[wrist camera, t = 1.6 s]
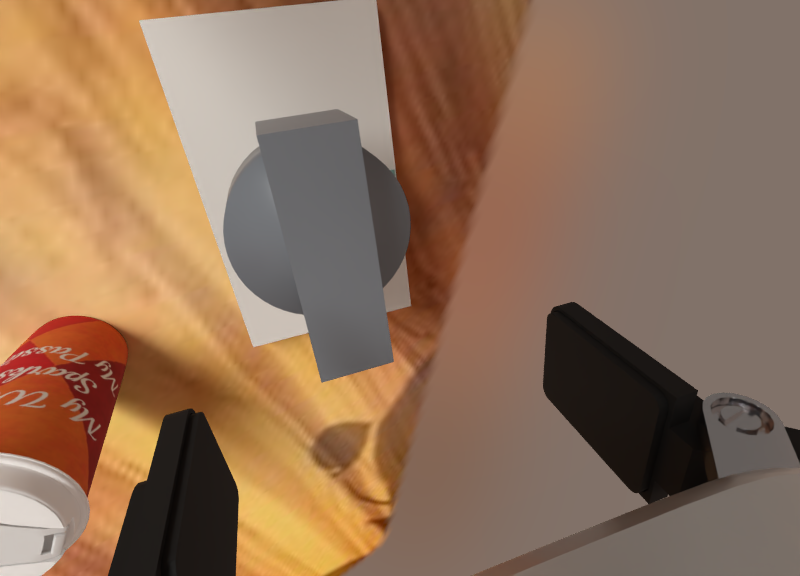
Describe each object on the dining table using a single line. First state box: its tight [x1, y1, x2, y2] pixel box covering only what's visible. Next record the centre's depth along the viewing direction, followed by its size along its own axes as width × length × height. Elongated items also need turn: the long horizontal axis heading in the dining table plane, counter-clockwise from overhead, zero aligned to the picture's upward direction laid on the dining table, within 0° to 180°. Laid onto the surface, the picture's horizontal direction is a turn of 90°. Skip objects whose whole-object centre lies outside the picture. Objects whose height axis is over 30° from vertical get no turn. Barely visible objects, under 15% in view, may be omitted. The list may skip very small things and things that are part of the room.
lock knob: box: [223, 109, 411, 382], centre depth 21 cm, size 12×9×7 cm
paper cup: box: [0, 316, 128, 576], centre depth 23 cm, size 8×8×14 cm
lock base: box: [139, 0, 411, 347], centre depth 26 cm, size 20×12×6 cm, turn 6°
